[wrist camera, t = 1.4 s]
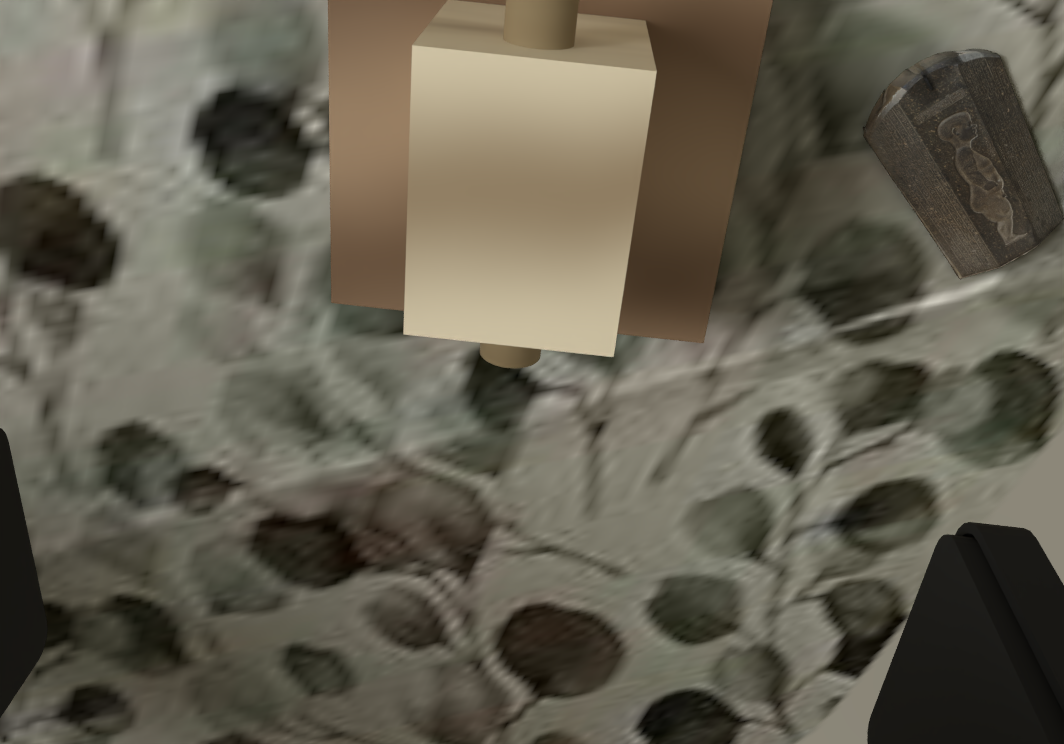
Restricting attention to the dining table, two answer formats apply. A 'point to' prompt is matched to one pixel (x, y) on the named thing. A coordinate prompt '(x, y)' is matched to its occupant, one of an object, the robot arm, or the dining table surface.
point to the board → (667, 173)
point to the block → (965, 159)
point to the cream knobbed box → (524, 176)
